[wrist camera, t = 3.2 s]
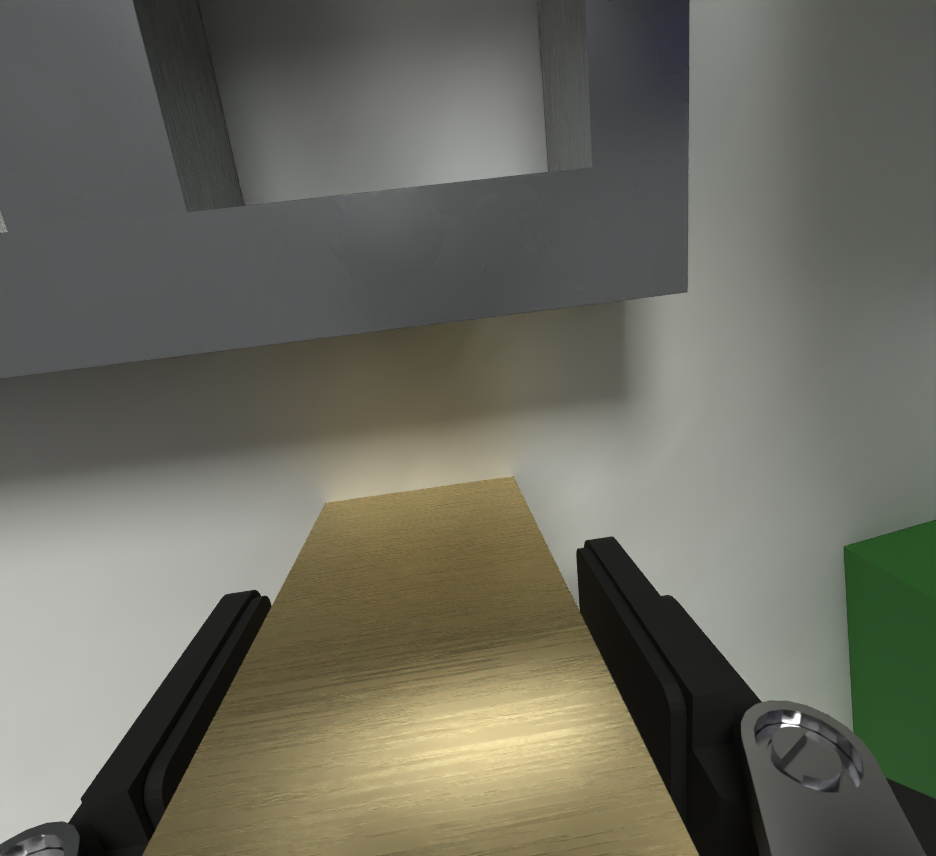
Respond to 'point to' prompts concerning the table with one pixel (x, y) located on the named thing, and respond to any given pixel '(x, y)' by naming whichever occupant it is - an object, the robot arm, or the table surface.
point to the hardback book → (895, 651)
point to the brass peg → (423, 702)
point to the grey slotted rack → (317, 219)
